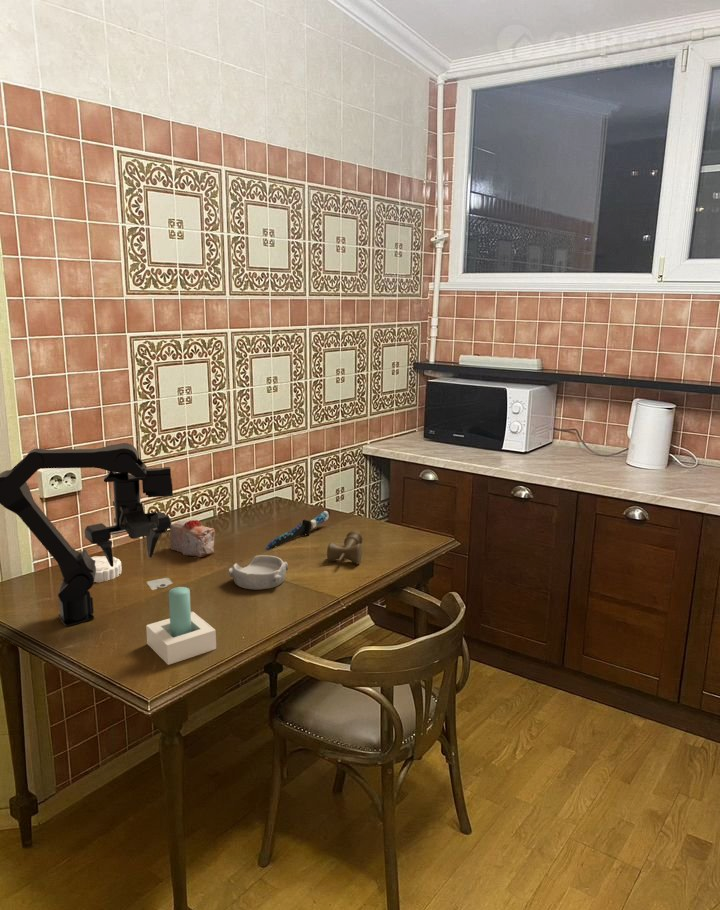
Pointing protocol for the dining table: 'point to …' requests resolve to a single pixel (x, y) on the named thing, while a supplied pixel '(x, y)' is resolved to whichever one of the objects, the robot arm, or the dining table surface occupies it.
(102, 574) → the mooncake
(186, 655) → the well block
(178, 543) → the food item
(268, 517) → the dining table surface
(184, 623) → the teal dowel
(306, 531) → the knife
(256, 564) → the dish
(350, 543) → the kendama
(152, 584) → the mounting bracket
